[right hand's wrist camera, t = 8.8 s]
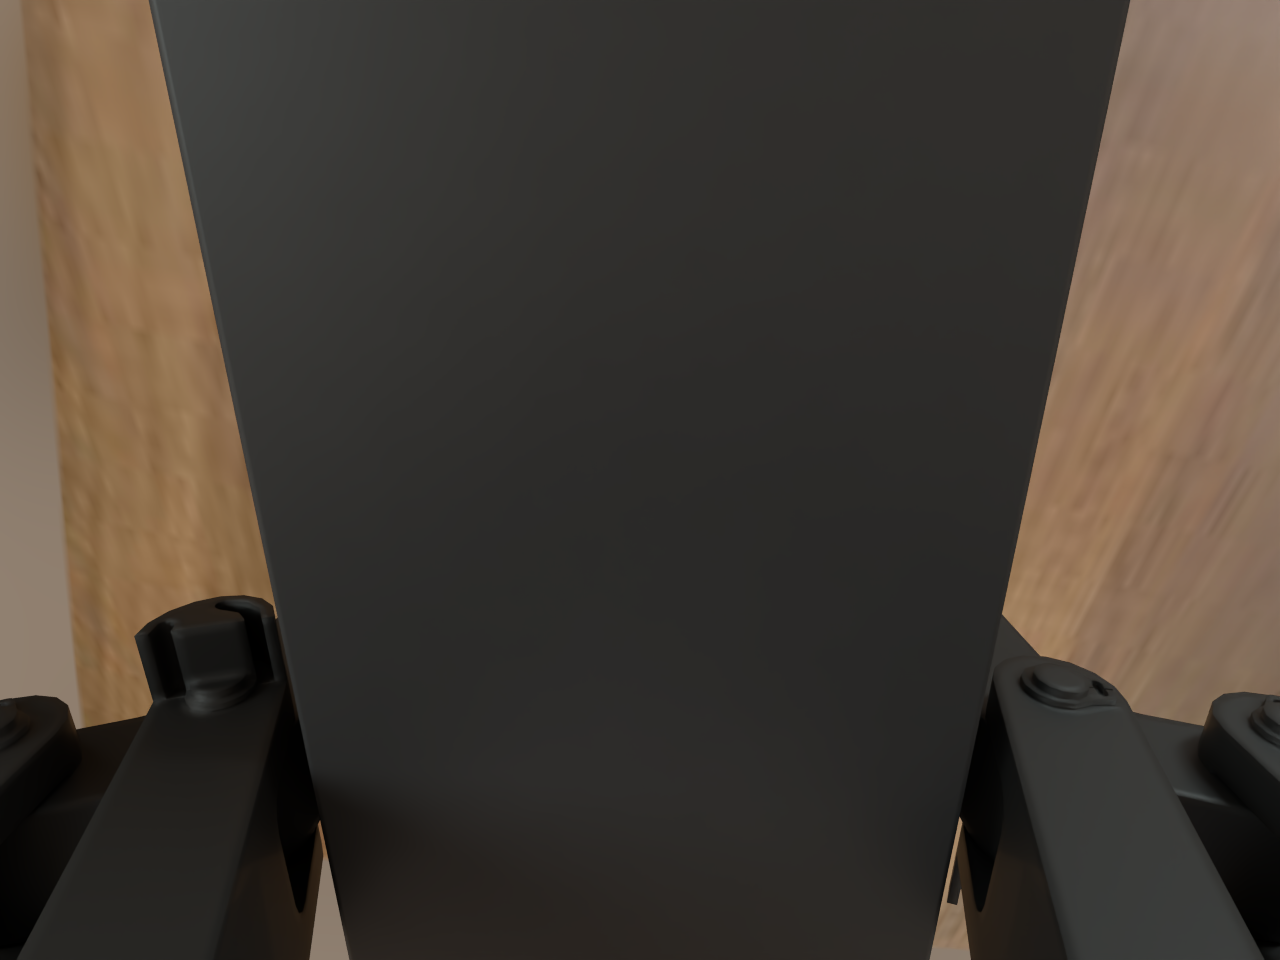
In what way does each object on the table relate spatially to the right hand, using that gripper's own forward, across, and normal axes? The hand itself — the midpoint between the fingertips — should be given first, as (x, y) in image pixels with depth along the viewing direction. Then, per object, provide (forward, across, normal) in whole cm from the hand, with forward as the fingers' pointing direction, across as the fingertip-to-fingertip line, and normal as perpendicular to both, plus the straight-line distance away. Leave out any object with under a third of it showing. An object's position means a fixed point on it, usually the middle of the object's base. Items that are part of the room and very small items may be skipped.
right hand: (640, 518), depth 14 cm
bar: (+1, 0, -10) cm, 10 cm away
